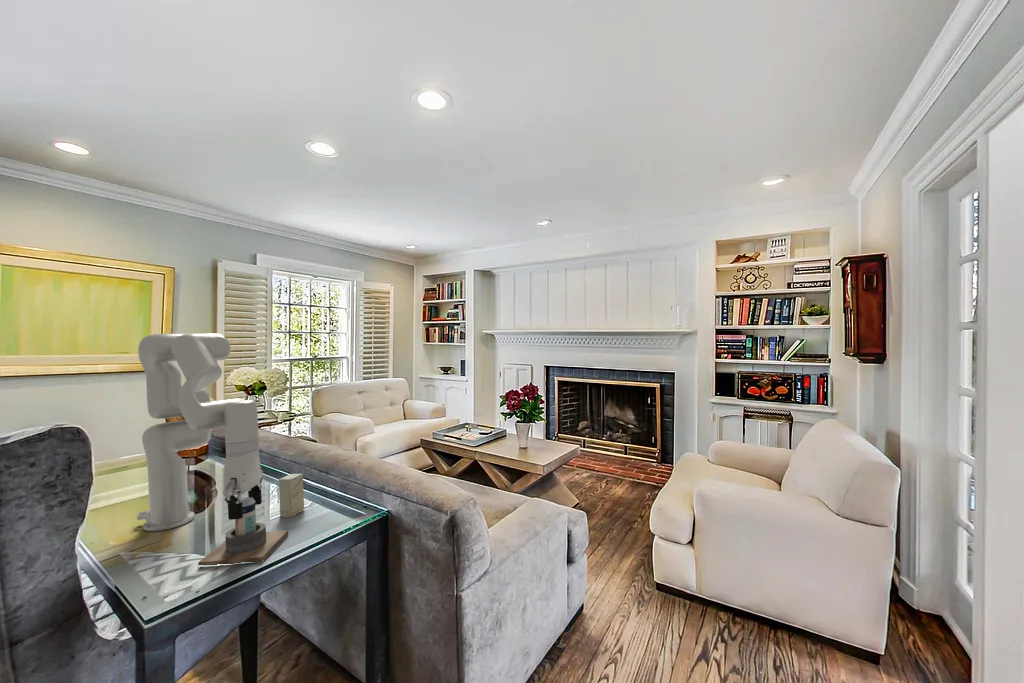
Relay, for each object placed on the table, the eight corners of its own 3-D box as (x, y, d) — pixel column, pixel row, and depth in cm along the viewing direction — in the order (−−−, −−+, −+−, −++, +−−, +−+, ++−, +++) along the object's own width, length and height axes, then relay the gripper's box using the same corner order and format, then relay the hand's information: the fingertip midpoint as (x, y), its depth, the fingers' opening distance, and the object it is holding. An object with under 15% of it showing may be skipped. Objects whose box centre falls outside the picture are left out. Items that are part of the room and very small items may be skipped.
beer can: (242, 540, 114) (241, 496, 114) (260, 539, 115) (258, 496, 114) (231, 549, 110) (230, 503, 109) (250, 548, 110) (248, 502, 110)
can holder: (198, 568, 104) (197, 546, 104) (232, 539, 118) (231, 520, 118) (262, 562, 105) (261, 540, 105) (288, 535, 120) (287, 516, 120)
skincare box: (291, 518, 132) (289, 479, 132) (279, 517, 133) (277, 479, 133) (305, 510, 138) (303, 473, 138) (293, 509, 139) (291, 473, 139)
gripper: (245, 441, 120) (248, 500, 120) (207, 456, 103) (210, 526, 103) (272, 439, 121) (275, 498, 121) (239, 454, 103) (243, 523, 103)
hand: (245, 511), depth 112 cm, fingers open, 9 cm apart
